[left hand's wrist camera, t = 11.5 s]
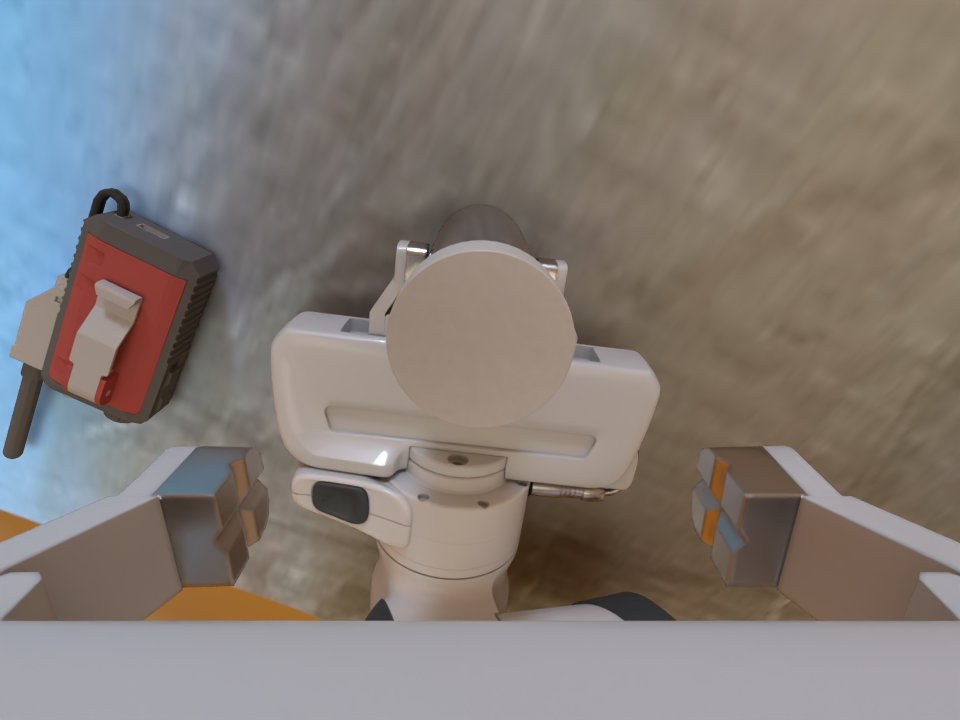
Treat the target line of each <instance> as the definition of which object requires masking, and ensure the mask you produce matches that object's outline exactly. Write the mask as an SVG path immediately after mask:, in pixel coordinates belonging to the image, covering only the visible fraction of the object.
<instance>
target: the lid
mask: <svg viewBox="0 0 960 720" xmlns="http://www.w3.org/2000/svg"><path fill="white" fill-rule="evenodd" d="M386 346H387V354H388V358H389V363H390V365H391V368H392V371H393V374H394V375H395V377H396V379H397V381H398V383H399V385H400V386H401V387H402V389H403V390H404V392H405V393H406V394H407V395H408V396H409V397H410V398H411V399H412V401H413V402H414V403H416V404H417V405H418V406H419V407H420V408H422V409H423V410H425V411H426V412H428V413H429V414H431V415H432V416H434V417H436V418H438V419H440V420H443V421H445V422H448V423H451V424H454V425H459V426H463V427H472V428H490V427H497V426H502V425H506V424H510V423H513V422H516V421H518V420H521V419H523V418H525V417H527V416H529V415H530V414H532V413H534V412H535V411H536V410H538V409H539V408H541V407H542V406H543V405H544V404H545V403H546V402H548V401H549V400H550V399H551V398H552V396H553V395H554V394H555V393H556V392H557V391H558V389H559V388H560V386H561V385H562V383H563V382H564V380H565V378H566V376H567V373H568V371H569V369H570V366H571V363H572V359H573V354H574V349H575V331H574V323H573V319H572V315H571V312H570V309H569V307H568V304H567V302H566V300H565V298H564V296H563V295H562V293H561V291H560V289H559V287H558V286H557V284H556V282H555V280H554V279H553V277H552V276H551V275H550V273H549V272H548V271H547V269H546V268H545V267H544V266H543V265H542V264H541V263H540V262H538V261H537V260H536V259H535V258H533V257H532V256H531V255H529V254H527V253H526V252H524V251H522V250H520V249H518V248H516V247H513V246H511V245H508V244H504V243H500V242H495V241H487V240H474V241H466V242H461V243H457V244H454V245H450V246H448V247H445V248H443V249H441V250H439V251H437V252H436V253H434V254H432V255H431V256H429V257H428V258H427V259H425V260H424V261H423V262H422V263H420V264H419V265H418V267H417V268H416V269H415V270H414V271H413V272H412V273H411V275H410V276H409V277H408V279H407V280H406V282H405V284H404V285H403V287H402V289H401V291H400V293H399V295H398V297H397V299H396V300H395V302H394V304H393V307H392V310H391V312H390V315H389V319H388V324H387V332H386Z"/></svg>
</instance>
